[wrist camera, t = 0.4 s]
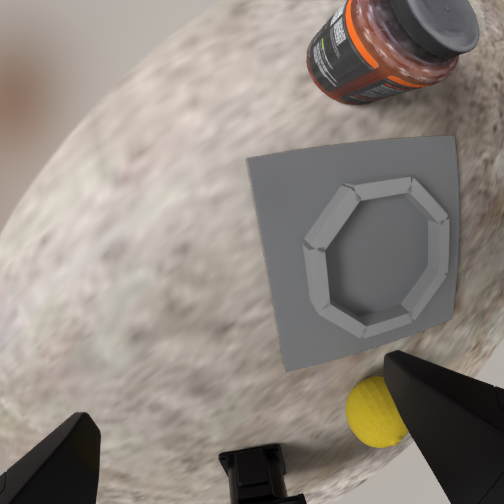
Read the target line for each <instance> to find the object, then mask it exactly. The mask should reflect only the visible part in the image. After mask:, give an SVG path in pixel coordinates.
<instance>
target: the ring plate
mask: <svg viewBox="0 0 504 504" xmlns="http://www.w3.org/2000/svg"><path fill="white" fill-rule="evenodd" d="M246 164H247V169H248V174H249V179H250V185H251V190H252V195H253V200H254V206H255V211H256V216H257V222H258V227H259V232H260V238H261V243H262V249H263V254H264V259H265V265H266V270H267V276H268V281H269V287H270V292H271V298H272V303H273V309H274V315H275V320H276V326H277V331H278V337H279V343H280V348H281V354H282V360H283V365H284V368H285V371H286V372H290V371H294V370H298V369H302V368H306V367H310V366H314V365H318V364H321V363H325V362H329V361H332V360H336V359H339V358H343V357H346V356H350V355H353V354H356V353H359V352H363V351H366V350H369V349H372V348H375V347H378V346H381V345H384V344H387V343H390V342H393V341H396V340H398V339H401V338H404V337H407V336H409V335H412V334H415V333H418V332H420V331H423V330H425V329H428V328H430V327H433V326H435V325H438V324H440V323H443V322H445V321H448V320H450V319H452V317H453V309H454V301H455V293H456V283H457V271H458V255H459V182H458V167H457V155H456V145H455V137H454V136H425V137H408V138H394V139H382V140H371V141H361V142H352V143H343V144H335V145H327V146H320V147H312V148H305V149H299V150H292V151H286V152H279V153H273V154H268V155H262V156H256V157H251V158H246Z"/></svg>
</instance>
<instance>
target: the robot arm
mask: <svg viewBox="0 0 504 504" xmlns="http://www.w3.org/2000/svg"><path fill="white" fill-rule="evenodd" d="M383 377H384V381H385V384H386V386H387V388H388V390H389V392H390V395H391V397H392V399H393V401H394V403H395V406H396V408H397V410H398V412H399V414H400V417H401V419H402V421H403V423H404V424H405V426H406V428H407V429H408V431H409V433H410V434H411V436H412V438H413V439H414V441H415V443H416V444H417V446H418V448H419V449H420V451H421V453H422V454H423V456H424V458H425V459H426V461H427V463H428V464H429V466H430V468H431V469H432V471H433V473H434V475H435V476H436V478H437V480H438V482H439V483H440V485H441V487H442V489H443V490H444V492H445V494H446V496H447V497H448V499H449V501H450V503H451V504H504V389H502V388H500V387H497V386H496V387H494V386H493V385H491V384H488V383H485V382H482V381H479V380H476V379H474V378H471V377H468V376H466V375H463V374H460V373H457V372H455V371H452V370H449V369H447V368H444V367H441V366H439V365H436V364H433V363H431V362H428V361H426V360H423V359H420V358H418V357H415V356H413V355H410V354H407V353H405V352H402V351H400V350H395V351H393V352H390V353H387V354H386V355H385V357H384V372H383ZM100 443H101V433H100V430H99V428H98V427H97V425H96V424H95V423H94V421H93V420H92V418H91V417H90V415H89V414H88V413H86V412H76V413H74V414H73V415H71V416H70V417H69V418H68V419H67V420H66V421H64V422H63V423H62V424H61V425H60V426H59V427H57V428H56V429H55V430H54V431H53V432H52V433H50V434H49V435H48V436H47V437H46V438H44V439H43V440H42V441H41V442H40V443H39V444H37V445H36V446H35V447H34V448H33V449H32V450H30V451H29V452H28V453H27V454H26V455H24V456H23V457H22V458H21V459H20V460H19V461H17V462H16V463H15V464H14V465H13V466H11V467H10V468H9V469H8V470H7V472H4V473H3V474H2V475H1V476H0V504H96V497H97V489H98V481H99V467H100ZM219 461H220V463H221V465H222V467H223V468H224V470H225V472H226V474H227V476H228V478H229V488H230V500H231V504H307V503H306V500H305V497H304V494H303V493H302V494H298V495H296V496H291V497H288V495H287V491H286V486H285V482H284V477H283V475H285V474H286V468H285V464H284V460H283V456H282V452H281V448H280V445H278V444H275V445H270V446H265V447H260V448H254V449H249V450H243V451H236V452H230V453H222V454H219Z"/></svg>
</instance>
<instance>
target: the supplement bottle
mask: <svg viewBox="0 0 504 504" xmlns="http://www.w3.org/2000/svg"><path fill="white" fill-rule="evenodd" d="M478 40H479V25H478V21H477V19H476V15H475V13H474V11H473V9H472V7H471V5H470V3H469V2H468V0H347V1H346V2H345V3H344V4H343V5H342V6H341V7H340V8H339V10H338V11H337V12H336V13H335V14H334V15H333V16H332V17H331V18H330V19H329V21H328V22H327V23H326V24H325V25H324V26H323V27H322V28H321V30H320V31H319V32H318V33H317V34H316V36H315V37H314V38H313V40H312V41H311V43H310V45H309V47H308V50H307V67H308V70H309V73H310V75H311V77H312V79H313V81H314V83H315V84H316V85H317V86H318V88H319V89H320V90H321V91H322V92H324V93H325V94H326V95H328V96H329V97H331V98H332V99H334V100H336V101H338V102H341V103H345V104H350V105H359V104H365V103H370V102H373V101H376V100H379V99H383V98H386V97H389V96H393V95H396V94H400V93H403V92H407V91H410V90H414V89H418V88H421V87H425V86H429V85H433V84H436V83H438V82H440V81H442V80H444V79H445V78H447V77H448V76H449V75H450V74H451V73H452V71H453V70H454V68H455V67H456V65H457V62H458V58H459V55H460V54H463V53H467V52H469V51H471V50H473V49H474V48H475V47H476V45H477V43H478Z"/></svg>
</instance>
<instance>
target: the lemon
mask: <svg viewBox="0 0 504 504" xmlns="http://www.w3.org/2000/svg"><path fill="white" fill-rule="evenodd" d="M346 416H347V420H348V423H349V426H350V428H351V429H352V431H353V432H354V434H355V435H356V436H357V437H358V438H359V439H360V440H361V441H362V442H363V443H365V444H366V445H369V446H371V447H375V448H385V447H390V446H392V445H394V446H395V445H398V444H399V443H400V442H401V440H402V439H403V438H404V437H405V436H406V434H407V433H408V429H407V428H406V426H405V424H404V423H403V421H402V419H401V417H400V414H399V412H398V410H397V408H396V406H395V403H394V401H393V399H392V397H391V395H390V392H389V390H388V388H387V386H386V384H385V381H384V377H381V376H376V377H370V378H367V379H365V380H362V381H361V382H359V383H358V384H357V385H356V386H355V387H354V388H353V389H352V391H351V392H350V394H349V396H348V398H347V402H346Z"/></svg>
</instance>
